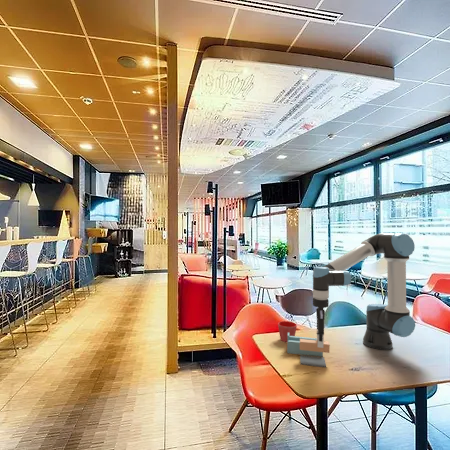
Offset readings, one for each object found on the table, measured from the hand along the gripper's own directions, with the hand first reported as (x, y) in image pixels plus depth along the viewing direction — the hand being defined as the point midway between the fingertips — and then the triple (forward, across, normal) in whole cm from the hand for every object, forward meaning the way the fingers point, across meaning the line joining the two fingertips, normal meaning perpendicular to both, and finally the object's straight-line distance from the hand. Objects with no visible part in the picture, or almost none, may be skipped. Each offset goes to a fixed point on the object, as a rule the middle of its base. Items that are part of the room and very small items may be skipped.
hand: (320, 345), depth 147 cm
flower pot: (+9, -26, -16) cm, 32 cm away
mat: (+8, 0, -4) cm, 9 cm away
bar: (+2, 0, -3) cm, 4 cm away
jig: (+8, -12, -7) cm, 16 cm away
